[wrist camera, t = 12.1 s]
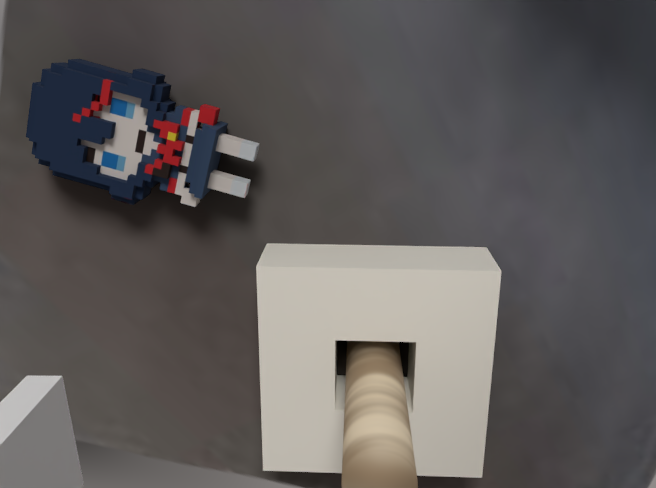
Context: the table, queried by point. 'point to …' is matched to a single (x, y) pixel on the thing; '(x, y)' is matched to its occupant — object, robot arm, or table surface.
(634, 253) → the table surface
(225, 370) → the table surface
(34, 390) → the robot arm
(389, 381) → the dowel
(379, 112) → the table surface
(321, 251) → the socket block
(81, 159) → the figurine
